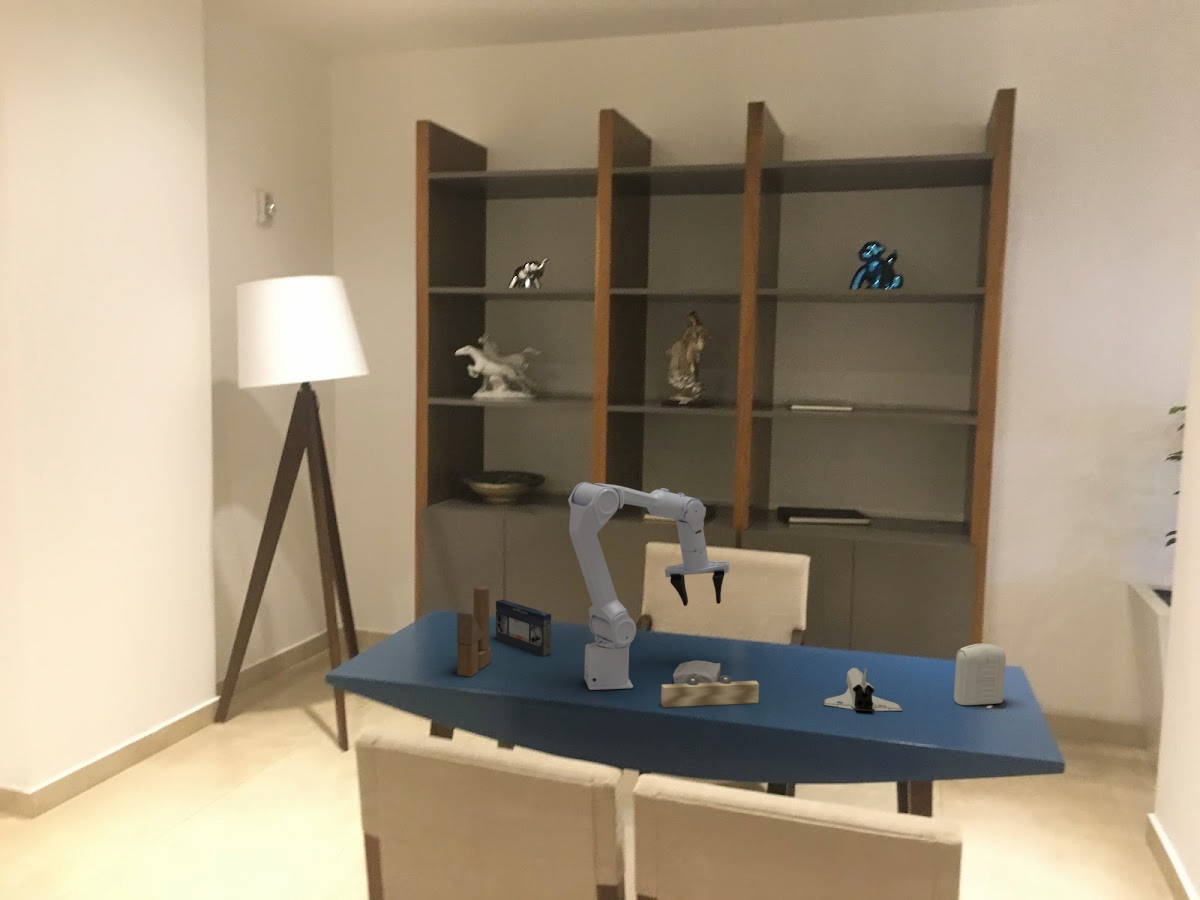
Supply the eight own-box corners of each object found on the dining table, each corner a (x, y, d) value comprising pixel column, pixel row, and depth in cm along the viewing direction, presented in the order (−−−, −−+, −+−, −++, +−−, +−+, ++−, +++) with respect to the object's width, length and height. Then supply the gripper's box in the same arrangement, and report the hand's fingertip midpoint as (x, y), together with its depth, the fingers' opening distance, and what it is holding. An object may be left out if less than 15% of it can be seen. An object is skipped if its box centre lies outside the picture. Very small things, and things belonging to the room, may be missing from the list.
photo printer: (993, 697, 200) (996, 640, 199) (1006, 704, 196) (1009, 646, 194) (950, 700, 197) (953, 642, 196) (962, 707, 193) (965, 648, 192)
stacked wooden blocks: (456, 675, 208) (456, 595, 206) (477, 660, 218) (477, 584, 216) (471, 677, 207) (472, 596, 205) (491, 662, 217) (492, 585, 215)
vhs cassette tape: (495, 639, 235) (495, 600, 234) (504, 637, 237) (504, 598, 236) (541, 657, 221) (542, 616, 220) (551, 655, 223) (552, 614, 222)
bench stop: (663, 707, 191) (663, 683, 190) (659, 701, 194) (660, 677, 193) (758, 702, 194) (759, 679, 194) (753, 697, 197) (754, 674, 197)
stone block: (673, 698, 201) (719, 693, 199) (669, 676, 201) (715, 671, 199) (679, 682, 213) (723, 677, 211) (676, 661, 213) (719, 656, 211)
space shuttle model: (887, 678, 212) (889, 635, 211) (905, 720, 187) (907, 671, 186) (816, 674, 214) (818, 631, 213) (825, 714, 190) (827, 666, 189)
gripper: (727, 538, 215) (735, 593, 218) (665, 543, 219) (674, 598, 222) (723, 549, 209) (732, 606, 212) (659, 555, 213) (669, 610, 216)
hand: (702, 603), depth 217 cm, fingers open, 7 cm apart
